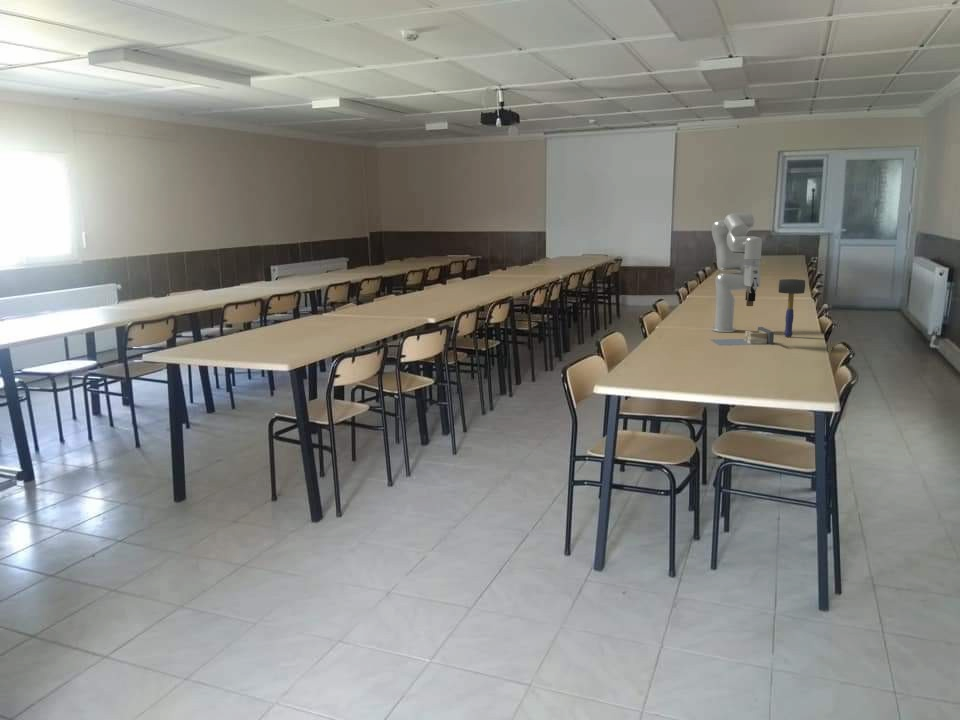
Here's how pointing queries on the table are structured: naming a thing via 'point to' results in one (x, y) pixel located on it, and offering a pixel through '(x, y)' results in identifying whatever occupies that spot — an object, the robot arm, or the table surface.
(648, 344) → the table surface
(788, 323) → the rubber mallet
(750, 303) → the dowel
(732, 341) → the jig board
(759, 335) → the socket block
